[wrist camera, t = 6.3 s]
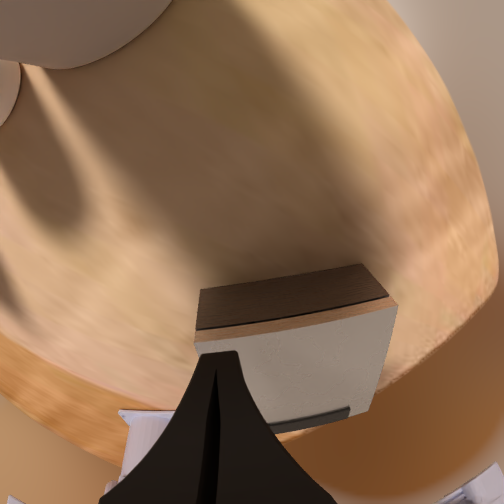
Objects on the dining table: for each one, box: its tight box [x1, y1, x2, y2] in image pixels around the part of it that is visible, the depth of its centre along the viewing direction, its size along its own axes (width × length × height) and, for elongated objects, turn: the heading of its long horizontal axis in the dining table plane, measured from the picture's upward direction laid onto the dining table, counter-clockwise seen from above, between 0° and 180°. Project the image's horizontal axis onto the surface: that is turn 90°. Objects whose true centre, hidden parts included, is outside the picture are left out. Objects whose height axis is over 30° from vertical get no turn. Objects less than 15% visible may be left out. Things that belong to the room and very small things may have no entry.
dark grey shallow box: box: [195, 264, 389, 331], centre depth 20 cm, size 12×12×4 cm
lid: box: [194, 296, 398, 434], centre depth 17 cm, size 12×12×1 cm
